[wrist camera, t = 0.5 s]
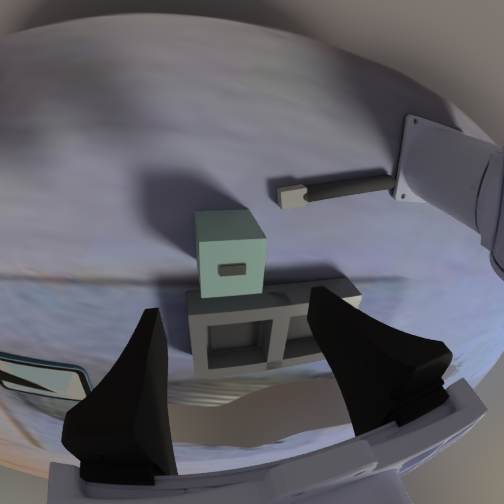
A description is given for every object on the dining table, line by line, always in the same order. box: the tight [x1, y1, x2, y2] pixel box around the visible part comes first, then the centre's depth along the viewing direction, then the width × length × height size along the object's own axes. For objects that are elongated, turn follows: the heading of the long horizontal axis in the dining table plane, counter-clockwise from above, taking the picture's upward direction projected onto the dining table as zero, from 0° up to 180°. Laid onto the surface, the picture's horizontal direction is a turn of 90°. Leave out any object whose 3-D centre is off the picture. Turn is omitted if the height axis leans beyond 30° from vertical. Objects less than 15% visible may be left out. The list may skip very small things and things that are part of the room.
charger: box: [195, 209, 267, 298], centre depth 20 cm, size 4×4×5 cm
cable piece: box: [277, 175, 395, 210], centre depth 22 cm, size 11×1×1 cm, turn 96°
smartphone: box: [0, 353, 93, 402], centre depth 25 cm, size 7×1×15 cm
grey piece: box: [186, 277, 362, 379], centre depth 26 cm, size 15×8×3 cm, turn 86°
